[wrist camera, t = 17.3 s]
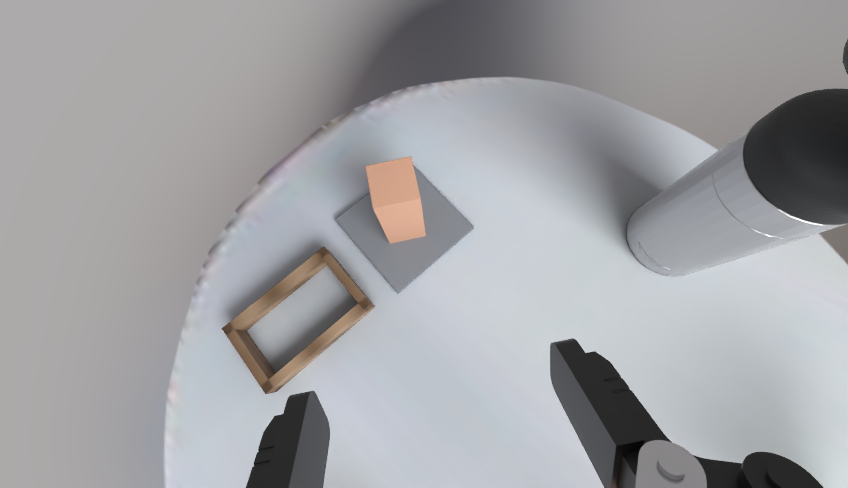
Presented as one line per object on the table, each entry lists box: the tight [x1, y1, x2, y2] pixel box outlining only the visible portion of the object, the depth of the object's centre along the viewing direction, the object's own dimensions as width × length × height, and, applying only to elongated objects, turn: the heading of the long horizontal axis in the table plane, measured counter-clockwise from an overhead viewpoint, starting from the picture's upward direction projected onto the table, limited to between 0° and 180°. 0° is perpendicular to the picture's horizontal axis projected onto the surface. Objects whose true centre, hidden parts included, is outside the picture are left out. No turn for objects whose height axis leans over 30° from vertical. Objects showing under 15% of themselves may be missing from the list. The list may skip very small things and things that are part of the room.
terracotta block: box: [365, 157, 426, 244], centre depth 38 cm, size 4×4×11 cm
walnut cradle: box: [222, 247, 375, 394], centre depth 40 cm, size 14×9×2 cm, turn 131°
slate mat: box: [336, 165, 474, 293], centre depth 44 cm, size 12×12×1 cm
